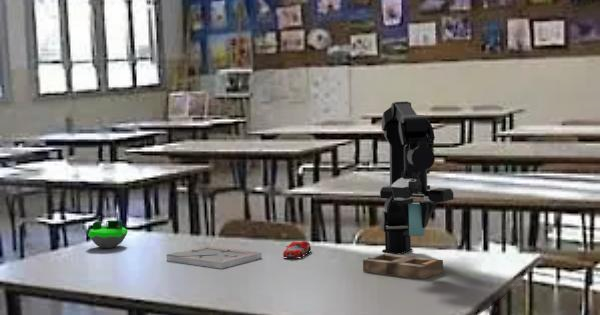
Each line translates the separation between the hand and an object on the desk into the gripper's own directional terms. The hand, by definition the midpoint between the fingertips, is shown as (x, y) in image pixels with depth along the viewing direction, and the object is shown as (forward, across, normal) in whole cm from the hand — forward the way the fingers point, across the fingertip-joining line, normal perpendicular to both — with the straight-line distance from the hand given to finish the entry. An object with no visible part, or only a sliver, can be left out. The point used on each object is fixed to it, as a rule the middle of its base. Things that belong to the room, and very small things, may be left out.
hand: (416, 227), depth 242 cm
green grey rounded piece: (+12, -102, -16) cm, 104 cm away
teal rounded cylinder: (+2, 0, 0) cm, 2 cm away
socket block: (+12, -4, 0) cm, 13 cm away
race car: (+12, -43, +4) cm, 45 cm away
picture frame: (+13, -60, -13) cm, 62 cm away
